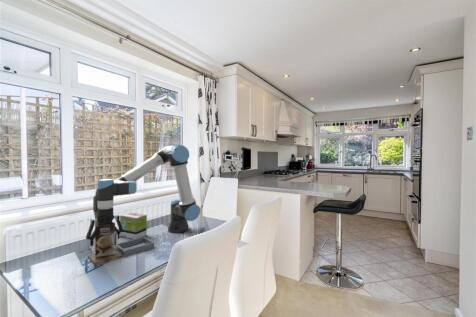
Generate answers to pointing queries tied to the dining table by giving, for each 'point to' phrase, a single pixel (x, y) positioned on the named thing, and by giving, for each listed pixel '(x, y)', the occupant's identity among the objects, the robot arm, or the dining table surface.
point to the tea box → (133, 225)
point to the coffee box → (105, 240)
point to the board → (104, 258)
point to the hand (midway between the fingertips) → (105, 248)
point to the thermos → (95, 206)
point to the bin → (120, 247)
